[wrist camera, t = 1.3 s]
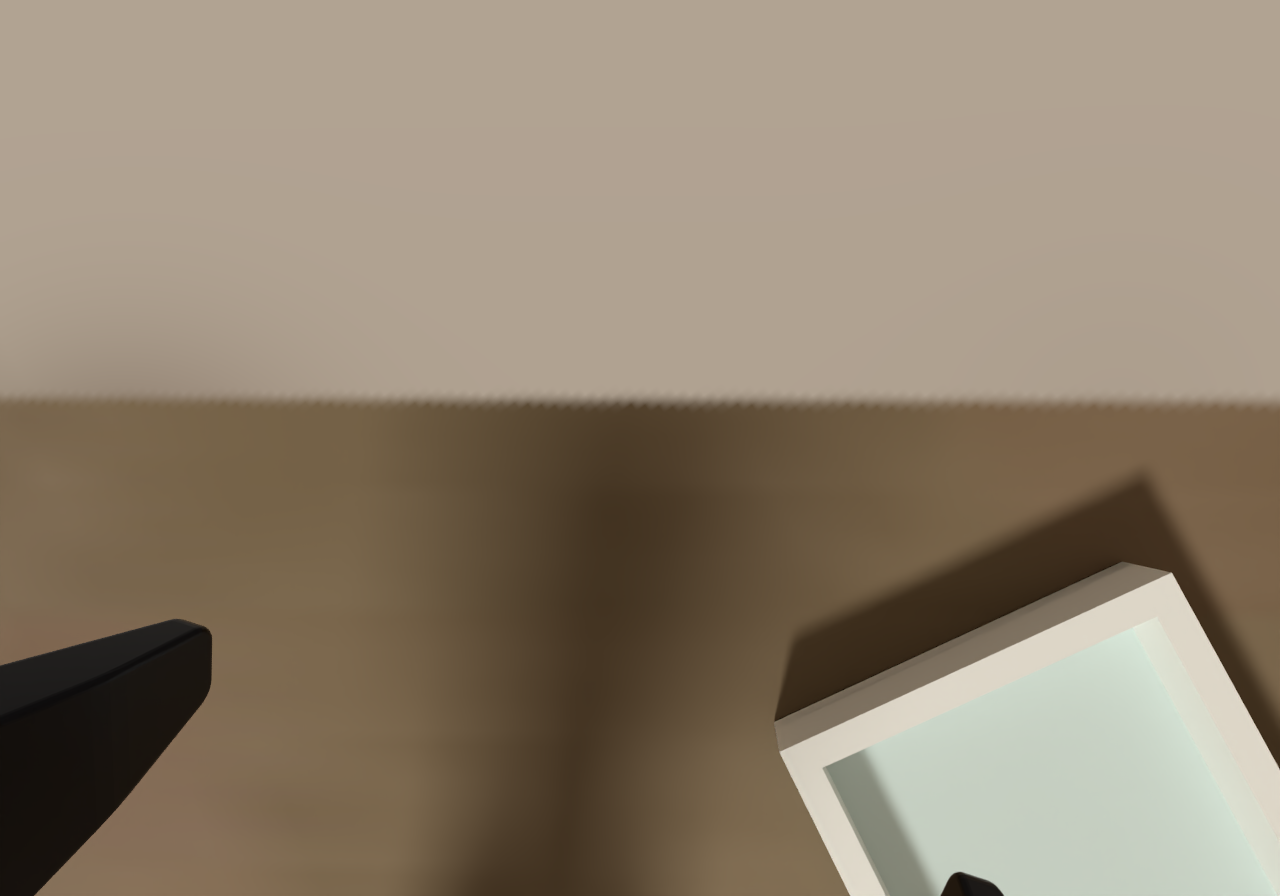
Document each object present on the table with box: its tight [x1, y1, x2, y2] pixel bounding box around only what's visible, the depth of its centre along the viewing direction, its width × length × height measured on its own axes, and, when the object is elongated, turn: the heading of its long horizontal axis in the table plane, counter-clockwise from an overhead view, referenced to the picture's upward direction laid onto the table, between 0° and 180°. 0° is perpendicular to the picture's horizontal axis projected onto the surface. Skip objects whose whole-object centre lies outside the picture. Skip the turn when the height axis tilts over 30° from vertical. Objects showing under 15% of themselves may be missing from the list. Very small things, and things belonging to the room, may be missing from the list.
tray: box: [774, 562, 1280, 896], centre depth 20 cm, size 12×11×2 cm
